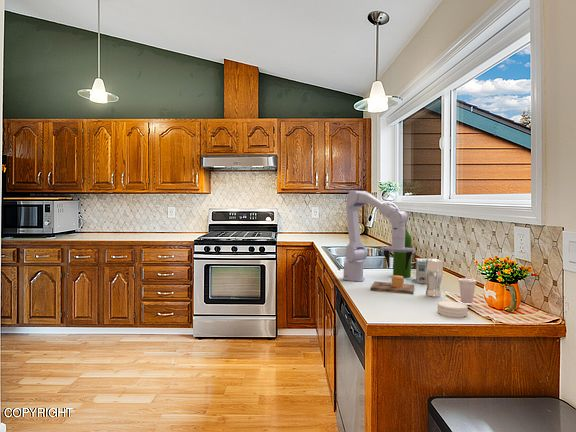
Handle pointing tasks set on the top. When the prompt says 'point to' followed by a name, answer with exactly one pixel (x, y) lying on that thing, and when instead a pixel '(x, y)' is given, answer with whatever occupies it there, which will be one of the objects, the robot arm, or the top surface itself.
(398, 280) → the orange brown block
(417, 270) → the light bulb box
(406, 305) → the top surface
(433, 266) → the beer glass
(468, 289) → the smoothie
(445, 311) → the coaster
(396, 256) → the wine bottle
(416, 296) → the top surface
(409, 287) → the junction board
